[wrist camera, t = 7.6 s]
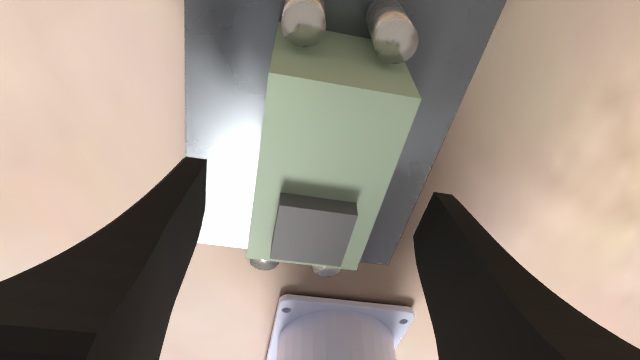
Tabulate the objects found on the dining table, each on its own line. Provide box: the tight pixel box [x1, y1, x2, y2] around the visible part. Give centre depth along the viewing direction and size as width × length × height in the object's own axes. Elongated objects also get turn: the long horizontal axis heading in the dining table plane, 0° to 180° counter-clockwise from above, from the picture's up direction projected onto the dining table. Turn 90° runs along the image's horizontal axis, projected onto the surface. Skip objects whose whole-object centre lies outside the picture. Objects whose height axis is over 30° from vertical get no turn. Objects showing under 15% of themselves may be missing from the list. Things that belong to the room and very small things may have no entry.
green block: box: [246, 22, 421, 271], centre depth 14 cm, size 7×4×5 cm, turn 169°
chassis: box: [184, 0, 506, 277], centre depth 15 cm, size 14×10×3 cm
